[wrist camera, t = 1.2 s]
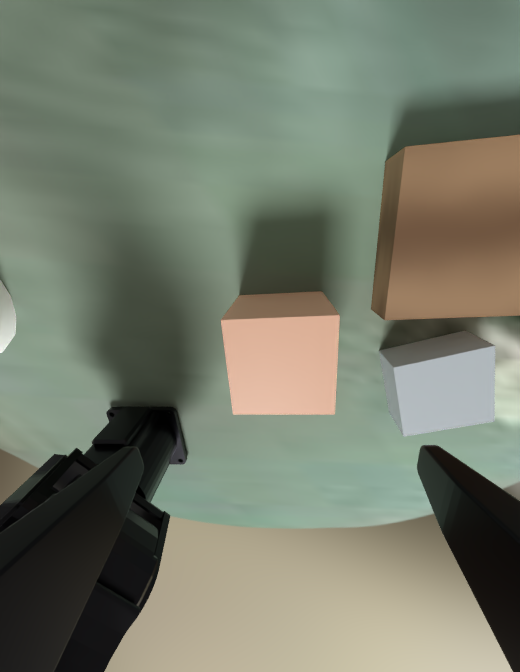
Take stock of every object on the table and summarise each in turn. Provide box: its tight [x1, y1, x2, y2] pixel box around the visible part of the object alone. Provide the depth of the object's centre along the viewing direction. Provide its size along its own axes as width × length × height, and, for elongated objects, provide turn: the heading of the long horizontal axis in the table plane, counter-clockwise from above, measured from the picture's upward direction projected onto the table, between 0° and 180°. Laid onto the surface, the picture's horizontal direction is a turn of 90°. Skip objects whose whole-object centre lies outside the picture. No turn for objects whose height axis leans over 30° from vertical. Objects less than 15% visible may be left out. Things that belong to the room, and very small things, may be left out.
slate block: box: [379, 330, 495, 436], centre depth 18 cm, size 6×6×3 cm
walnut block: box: [371, 135, 520, 320], centre depth 15 cm, size 9×9×3 cm
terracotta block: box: [221, 291, 340, 414], centre depth 16 cm, size 6×6×6 cm
